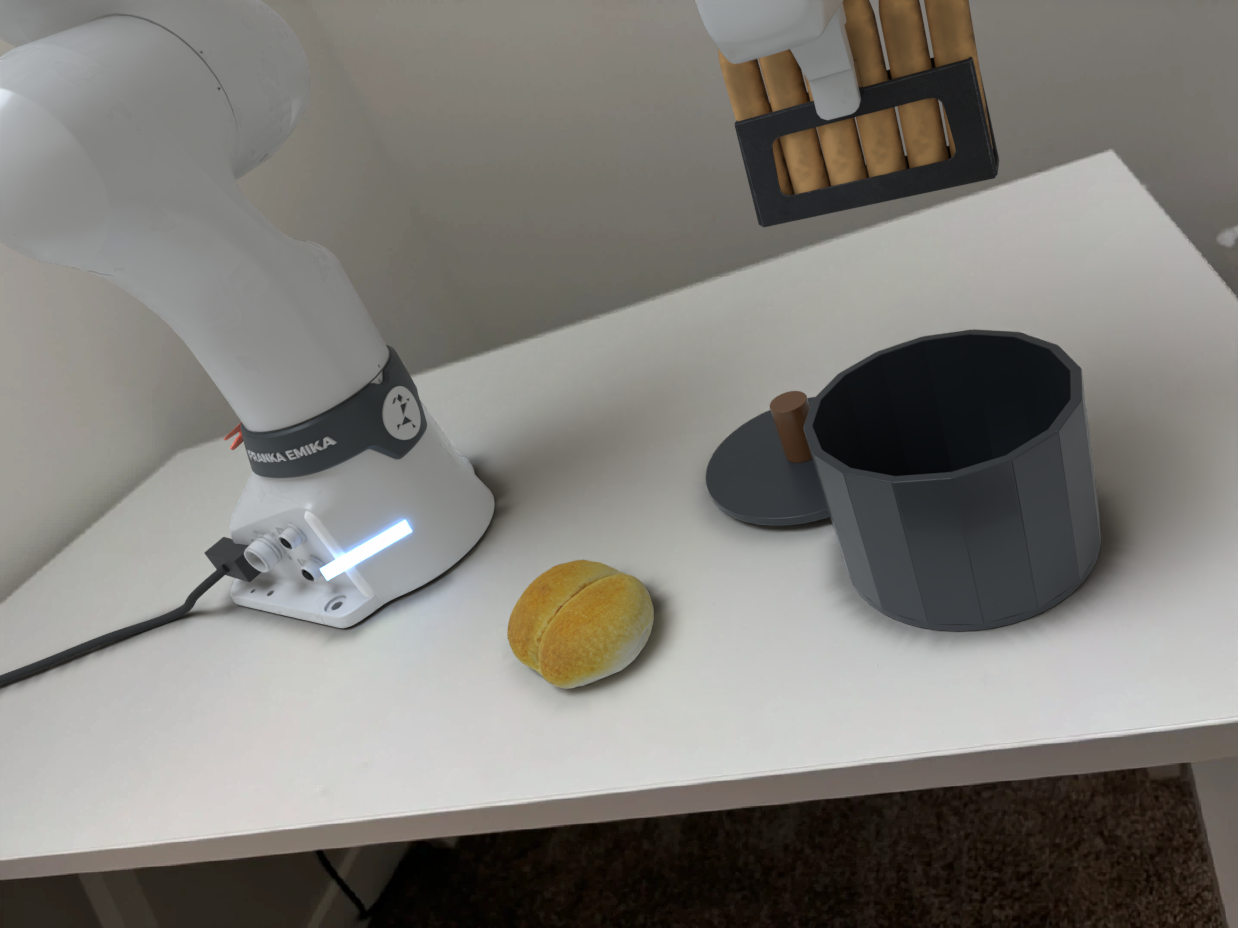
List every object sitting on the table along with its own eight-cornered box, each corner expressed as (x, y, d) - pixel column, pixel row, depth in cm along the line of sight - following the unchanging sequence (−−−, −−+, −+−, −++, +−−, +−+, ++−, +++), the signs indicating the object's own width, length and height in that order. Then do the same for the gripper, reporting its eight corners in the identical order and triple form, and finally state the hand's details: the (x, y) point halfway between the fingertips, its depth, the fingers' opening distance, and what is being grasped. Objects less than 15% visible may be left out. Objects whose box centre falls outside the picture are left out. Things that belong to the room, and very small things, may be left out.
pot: (828, 631, 50) (781, 490, 45) (865, 479, 59) (829, 349, 55) (1105, 632, 44) (1084, 468, 39) (1097, 461, 53) (1080, 313, 48)
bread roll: (586, 715, 51) (558, 664, 49) (500, 654, 58) (472, 607, 56) (690, 617, 55) (667, 566, 53) (597, 570, 61) (574, 523, 59)
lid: (687, 539, 61) (660, 475, 58) (736, 419, 71) (716, 360, 68) (900, 527, 55) (881, 454, 52) (922, 397, 64) (907, 331, 62)
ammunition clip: (759, 228, 45) (679, -38, 39) (767, 212, 47) (692, -47, 41) (997, 177, 40) (948, -137, 34) (999, 161, 42) (952, -144, 36)
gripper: (747, -257, 43) (821, 50, 50) (587, -217, 29) (722, 209, 36) (887, -323, 40) (945, 13, 47) (789, -316, 26) (893, 170, 33)
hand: (849, 99), depth 41 cm, fingers closed on ammunition clip, 2 cm apart
